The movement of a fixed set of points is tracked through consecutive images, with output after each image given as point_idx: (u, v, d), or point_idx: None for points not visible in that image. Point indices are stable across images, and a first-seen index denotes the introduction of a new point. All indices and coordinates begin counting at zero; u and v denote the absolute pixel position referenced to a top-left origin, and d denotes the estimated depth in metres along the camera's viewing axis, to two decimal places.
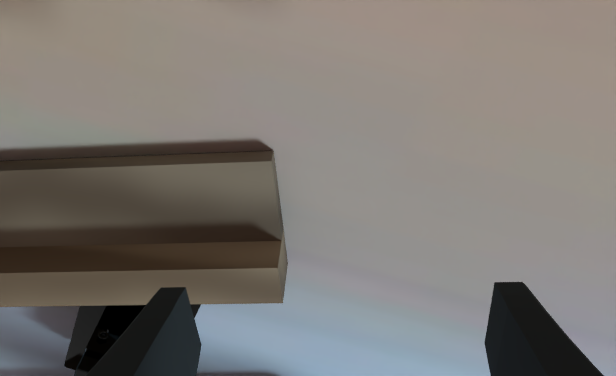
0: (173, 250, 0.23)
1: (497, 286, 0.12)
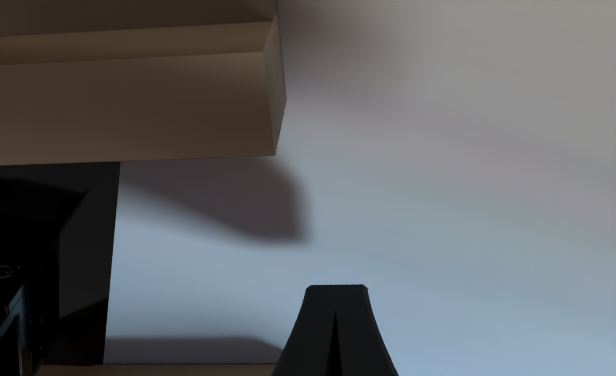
0: (32, 42, 0.10)
1: (336, 288, 0.12)
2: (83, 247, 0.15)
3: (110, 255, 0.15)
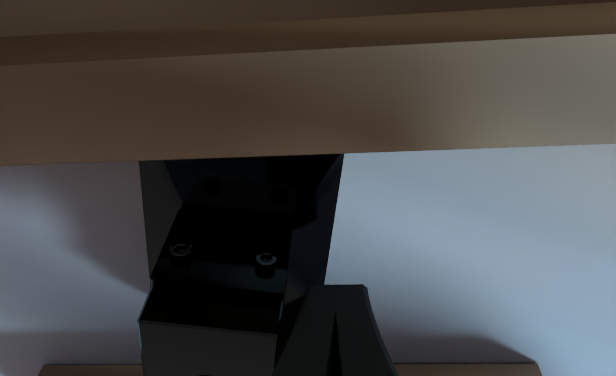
0: (397, 22, 0.10)
1: (336, 288, 0.12)
2: (314, 232, 0.14)
3: None
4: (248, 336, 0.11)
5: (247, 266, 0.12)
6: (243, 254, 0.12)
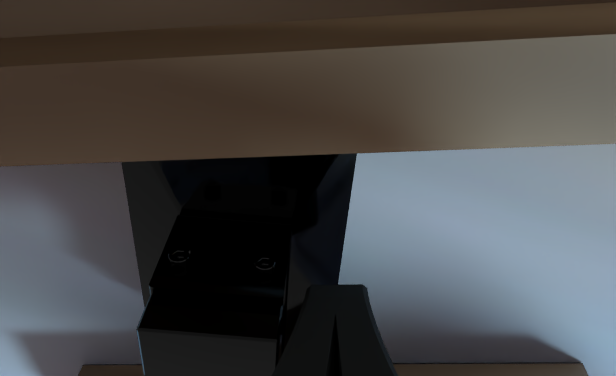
0: (471, 18, 0.10)
1: (336, 288, 0.12)
2: (314, 235, 0.14)
3: (339, 239, 0.14)
4: (248, 342, 0.11)
5: (246, 271, 0.12)
6: (242, 259, 0.12)
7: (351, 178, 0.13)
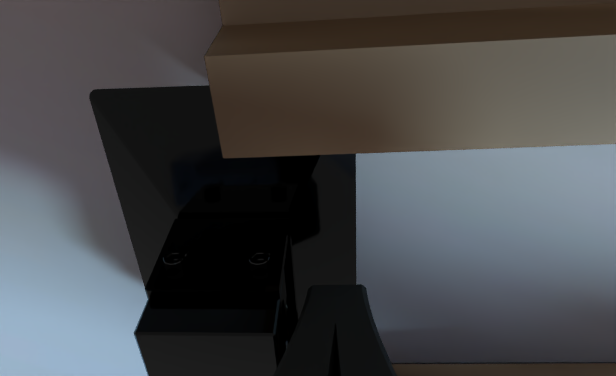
0: None
1: (335, 288, 0.12)
2: (314, 226, 0.14)
3: (340, 230, 0.14)
4: (245, 338, 0.11)
5: (241, 268, 0.12)
6: (238, 257, 0.12)
7: (343, 165, 0.13)
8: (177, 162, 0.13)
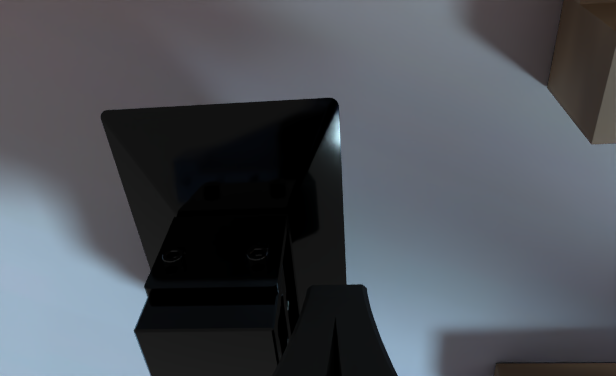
0: None
1: (336, 288, 0.12)
2: (313, 222, 0.14)
3: (339, 224, 0.14)
4: (243, 333, 0.11)
5: (240, 264, 0.12)
6: (236, 253, 0.12)
7: (340, 160, 0.13)
8: (174, 160, 0.13)
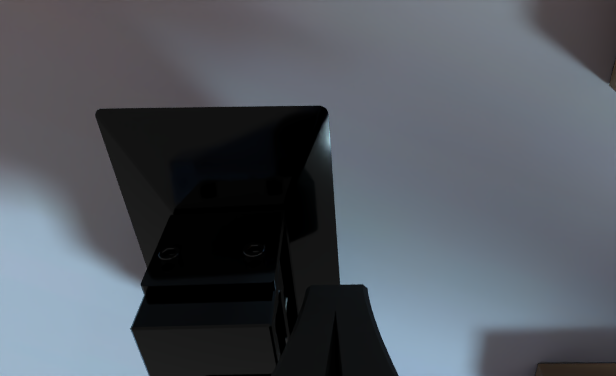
0: None
1: (336, 288, 0.12)
2: (309, 218, 0.14)
3: None
4: (241, 329, 0.11)
5: (237, 260, 0.12)
6: (233, 250, 0.12)
7: None
8: (170, 158, 0.13)
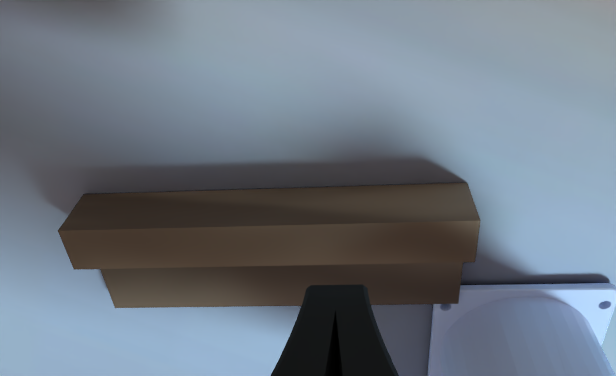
0: None
1: (336, 288, 0.12)
2: None
3: None
4: None
5: None
6: None
7: None
8: None
